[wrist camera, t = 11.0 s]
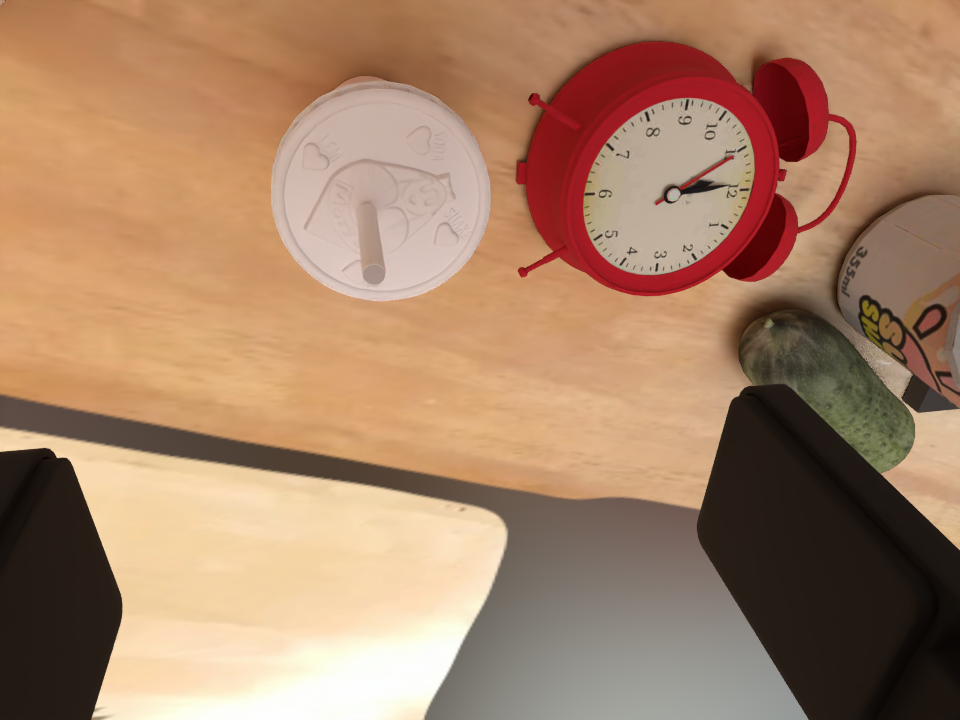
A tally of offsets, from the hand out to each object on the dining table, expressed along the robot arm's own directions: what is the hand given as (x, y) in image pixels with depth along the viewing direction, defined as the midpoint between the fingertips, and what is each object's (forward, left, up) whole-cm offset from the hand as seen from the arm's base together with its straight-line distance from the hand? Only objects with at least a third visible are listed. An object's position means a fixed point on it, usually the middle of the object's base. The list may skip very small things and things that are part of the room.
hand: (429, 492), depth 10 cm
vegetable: (+14, +24, -21) cm, 35 cm away
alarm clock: (+2, +14, -21) cm, 25 cm away
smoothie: (0, 0, -21) cm, 21 cm away
